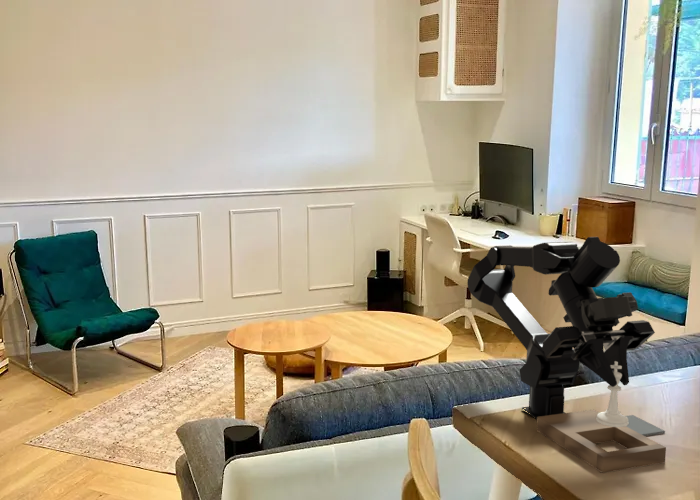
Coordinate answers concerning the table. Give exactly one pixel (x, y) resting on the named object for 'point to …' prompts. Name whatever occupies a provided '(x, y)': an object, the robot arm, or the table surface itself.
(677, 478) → the table surface
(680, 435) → the table surface
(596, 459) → the brown slab with hole
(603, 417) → the chess piece
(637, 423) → the rubber mat
